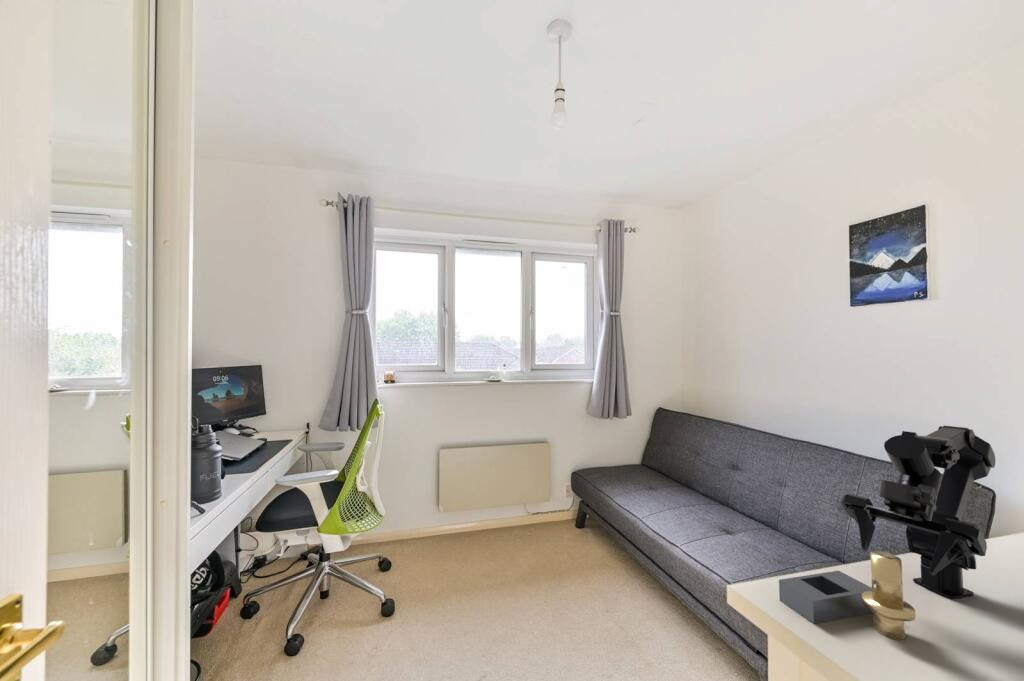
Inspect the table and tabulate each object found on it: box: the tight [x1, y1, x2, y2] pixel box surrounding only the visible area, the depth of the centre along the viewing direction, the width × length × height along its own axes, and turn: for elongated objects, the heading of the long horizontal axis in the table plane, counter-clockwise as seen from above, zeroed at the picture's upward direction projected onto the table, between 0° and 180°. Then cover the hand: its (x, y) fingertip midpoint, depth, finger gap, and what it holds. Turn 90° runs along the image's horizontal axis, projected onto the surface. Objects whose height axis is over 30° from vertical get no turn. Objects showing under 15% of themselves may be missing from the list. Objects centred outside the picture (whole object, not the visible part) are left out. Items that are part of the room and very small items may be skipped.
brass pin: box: [862, 550, 916, 641], centre depth 69 cm, size 7×7×13 cm
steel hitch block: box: [778, 570, 873, 624], centre depth 75 cm, size 15×7×4 cm, turn 102°
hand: (895, 561), depth 71 cm, fingers open, 9 cm apart
